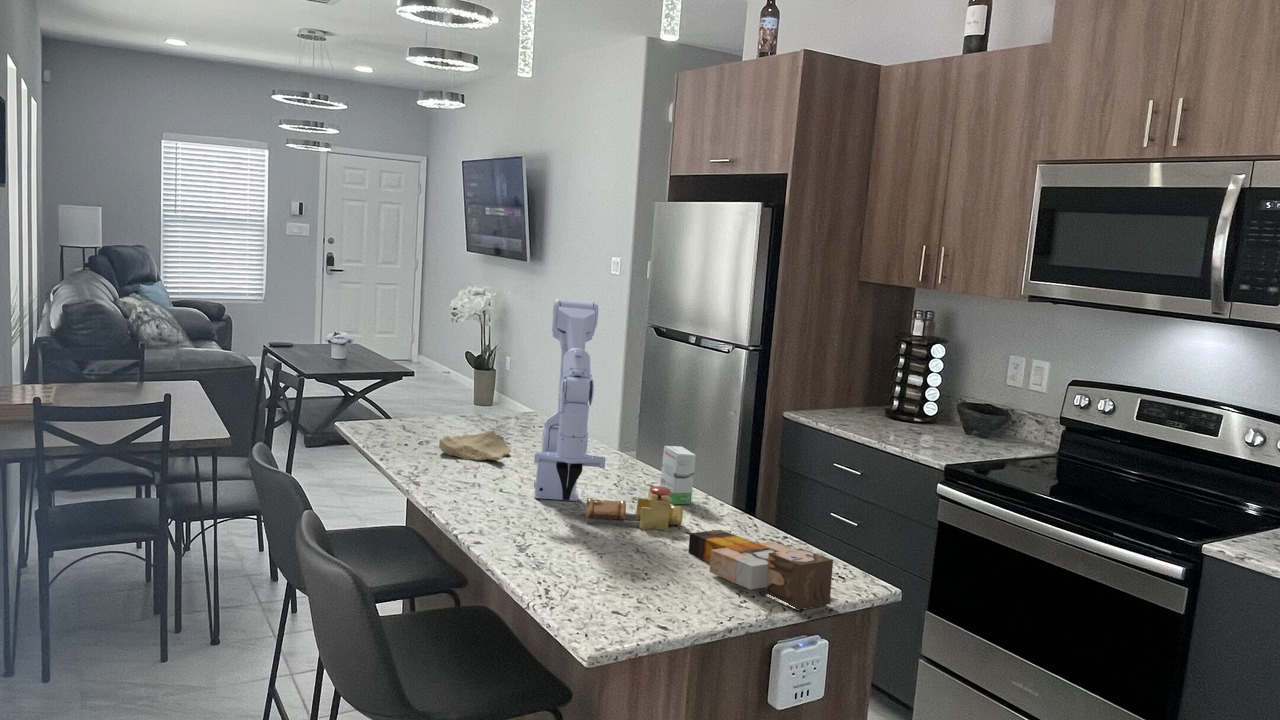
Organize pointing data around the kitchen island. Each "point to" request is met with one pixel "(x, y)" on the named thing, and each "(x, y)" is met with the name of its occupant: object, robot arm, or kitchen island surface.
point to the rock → (475, 446)
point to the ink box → (678, 473)
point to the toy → (766, 567)
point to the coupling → (605, 509)
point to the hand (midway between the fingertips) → (565, 498)
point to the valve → (658, 510)
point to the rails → (615, 521)
